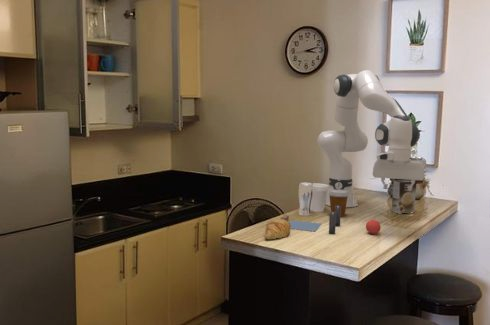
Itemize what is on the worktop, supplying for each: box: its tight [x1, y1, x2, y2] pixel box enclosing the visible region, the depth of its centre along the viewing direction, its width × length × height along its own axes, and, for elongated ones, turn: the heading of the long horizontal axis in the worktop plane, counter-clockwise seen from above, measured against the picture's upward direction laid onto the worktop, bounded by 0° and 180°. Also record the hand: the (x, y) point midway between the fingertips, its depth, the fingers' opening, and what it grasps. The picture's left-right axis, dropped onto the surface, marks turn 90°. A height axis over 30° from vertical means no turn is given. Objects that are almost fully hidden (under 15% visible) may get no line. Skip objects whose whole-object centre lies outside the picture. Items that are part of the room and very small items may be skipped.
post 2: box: [335, 205, 342, 228], centre depth 226 cm, size 3×3×9 cm
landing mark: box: [288, 220, 322, 233], centre depth 225 cm, size 14×14×1 cm
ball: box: [365, 219, 382, 235], centre depth 215 cm, size 6×6×6 cm
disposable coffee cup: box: [329, 189, 349, 218], centre depth 245 cm, size 10×10×12 cm
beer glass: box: [298, 181, 314, 217], centre depth 246 cm, size 7×7×15 cm
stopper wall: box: [279, 215, 290, 223], centre depth 228 cm, size 12×2×2 cm, turn 160°
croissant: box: [264, 218, 291, 240], centre depth 210 cm, size 21×10×8 cm, turn 153°
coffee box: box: [391, 179, 417, 215], centre depth 254 cm, size 9×6×16 cm
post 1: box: [328, 211, 336, 235], centre depth 214 cm, size 3×3×9 cm
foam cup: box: [311, 182, 329, 213], centre depth 254 cm, size 10×9×13 cm
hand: (397, 189), depth 209 cm, fingers open, 8 cm apart
